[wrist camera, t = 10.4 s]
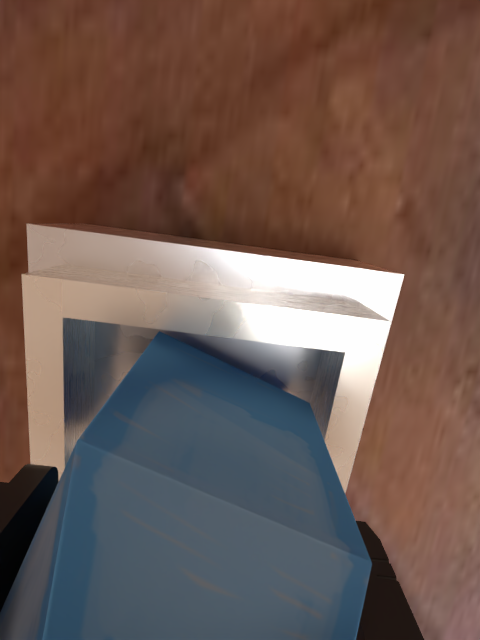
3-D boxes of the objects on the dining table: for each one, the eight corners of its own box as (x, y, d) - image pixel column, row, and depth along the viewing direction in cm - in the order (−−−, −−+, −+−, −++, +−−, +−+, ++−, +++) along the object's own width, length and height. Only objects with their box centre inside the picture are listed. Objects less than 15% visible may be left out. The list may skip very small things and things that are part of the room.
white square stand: (87, 223, 17) (-27, 223, 10) (358, 260, 17) (443, 286, 10) (85, 456, 21) (3, 582, 13) (308, 481, 21) (343, 613, 14)
